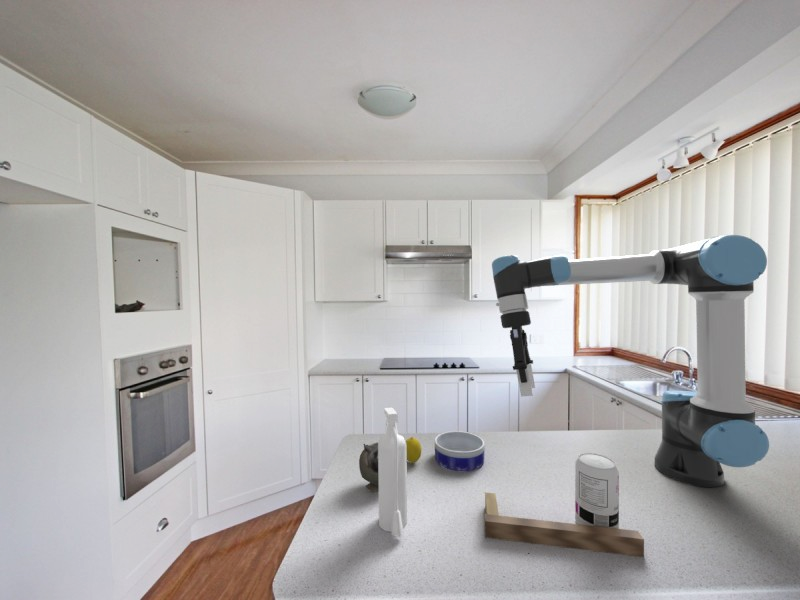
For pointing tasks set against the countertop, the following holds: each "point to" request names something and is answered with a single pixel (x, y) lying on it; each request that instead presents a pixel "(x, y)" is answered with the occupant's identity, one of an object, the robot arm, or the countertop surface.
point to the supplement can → (596, 491)
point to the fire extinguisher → (392, 477)
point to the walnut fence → (560, 533)
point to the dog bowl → (459, 451)
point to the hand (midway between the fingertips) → (528, 391)
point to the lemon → (413, 449)
